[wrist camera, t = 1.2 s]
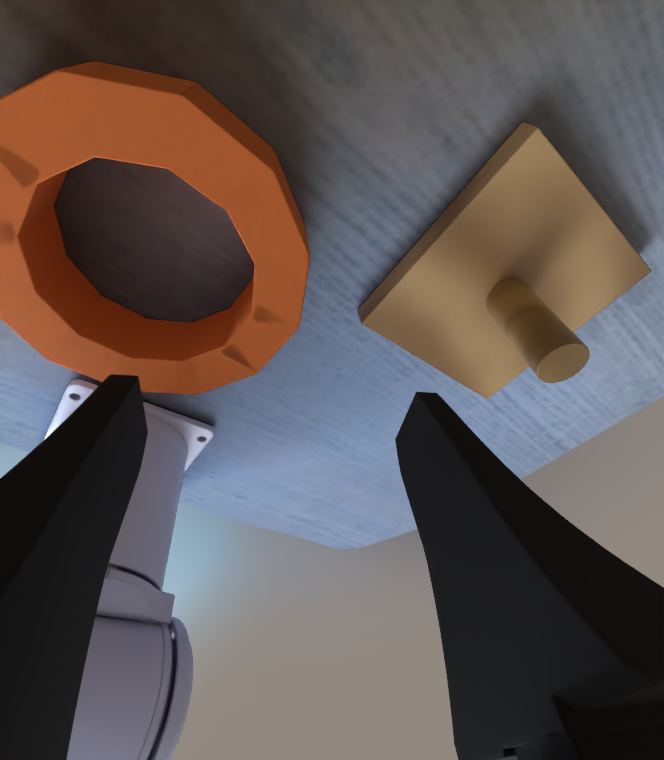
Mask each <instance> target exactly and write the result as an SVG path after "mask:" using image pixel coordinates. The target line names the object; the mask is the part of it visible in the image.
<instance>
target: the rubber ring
mask: <svg viewBox="0 0 664 760" xmlns="http://www.w3.org/2000/svg"><path fill="white" fill-rule="evenodd" d="M94 157H98V158H104V159H111V160H117V161H123V162H129V163H135V164H142V165H148V166H154V167H160V168H166V169H169V170H170V171H172V172H173V173H174V174H176V175H177V176H179V177H180V178H181V179H183V180H184V181H186V182H187V183H188V184H190V185H191V186H193V187H194V188H195V189H197V190H198V191H200V192H201V193H202V194H204V195H205V196H206V197H208V198H209V199H211V200H212V201H213V202H215V203H216V204H218V205H219V206H220V207H222V208H223V209H225V210H226V211H227V212H228V214H229V216H230V218H231V220H232V222H233V224H234V226H235V227H236V229H237V231H238V233H239V235H240V237H241V239H242V241H243V243H244V245H245V246H246V248H247V250H248V252H249V254H250V256H251V258H252V260H253V262H254V263H255V264H254V277H253V279H252V280H251V281H250V283H249V284H248V285H247V287H246V288H245V289H244V290H243V292H242V293H241V294H240V296H239V297H238V298H237V300H236V301H235V302H234V304H233V305H232V306H231V307H230V308H229V309H226V310H223V311H221V312H218V313H216V314H213V315H210V316H208V317H205V318H202V319H200V320H197V321H195V322H192V323H191V322H180V321H168V320H157V319H146V318H145V317H143V316H141V315H139V314H137V313H135V312H133V311H131V310H129V309H127V308H125V307H123V306H121V305H119V304H117V303H115V302H113V301H111V300H109V299H107V298H105V297H103V296H102V295H101V294H100V293H99V292H98V291H97V290H96V288H95V287H94V286H93V285H92V284H91V283H90V282H89V280H88V279H87V278H86V277H85V276H84V275H83V274H82V272H81V271H80V270H79V269H78V268H77V267H76V266H75V264H74V263H73V262H72V261H71V260H70V259H69V258H68V256H67V255H66V251H65V247H64V243H63V239H62V236H61V232H60V228H59V224H58V220H57V216H56V212H55V209H54V203H55V201H56V199H57V196H58V194H59V191H60V189H61V186H62V184H63V181H64V179H65V176H66V174H67V172H68V169H70V168H73V167H75V166H77V165H79V164H81V163H83V162H85V161H88V160H90V159H92V158H94ZM309 263H310V253H309V247H308V242H307V236H306V230H305V225H304V222H303V220H302V217H301V215H300V212H299V210H298V208H297V205H296V203H295V200H294V198H293V195H292V193H291V190H290V188H289V185H288V183H287V180H286V178H285V175H284V173H283V170H282V168H281V165H280V163H279V160H278V158H277V155H276V153H275V151H274V150H273V148H272V147H271V146H270V145H269V144H268V143H266V142H265V141H264V140H263V139H262V138H261V137H259V136H258V135H257V134H256V133H255V132H254V131H253V130H251V129H250V128H249V127H248V126H247V125H246V124H244V123H243V122H242V121H241V120H240V119H239V118H238V117H236V116H235V115H234V114H233V113H232V112H231V111H229V110H228V109H227V108H226V107H225V106H224V105H223V104H221V103H220V102H219V101H218V100H217V99H216V98H214V97H213V96H212V95H211V94H210V93H209V92H208V91H206V90H205V89H204V88H203V87H202V86H201V85H199V84H198V83H196V82H194V81H189V80H184V79H179V78H175V77H170V76H165V75H160V74H155V73H150V72H146V71H141V70H136V69H131V68H126V67H122V66H117V65H112V64H107V63H102V62H97V61H94V62H88V63H83V64H79V65H75V66H71V67H66V68H62V69H58V70H55V71H53V72H51V73H49V74H47V75H45V76H43V77H41V78H39V79H37V80H35V81H33V82H31V83H29V84H27V85H25V86H23V87H21V88H19V89H17V90H15V91H13V92H11V93H10V94H8V95H6V96H4V97H2V98H0V319H2V320H3V321H4V322H5V323H6V324H7V325H8V326H10V327H11V328H12V329H13V330H14V331H15V332H16V333H17V334H19V335H20V336H21V337H22V338H23V339H24V340H25V341H27V342H28V343H29V344H30V345H31V346H32V347H33V348H34V349H36V350H37V351H38V352H39V353H40V354H41V355H42V356H44V357H45V358H46V359H48V360H49V361H52V362H54V363H57V364H59V365H62V366H64V367H66V368H69V369H71V370H74V371H76V372H79V373H81V374H84V375H86V376H89V377H91V378H94V379H96V380H99V381H101V382H103V381H104V380H105V379H106V378H107V377H108V376H109V375H111V374H116V375H134V376H139V382H140V388H141V392H155V393H175V394H200V393H203V392H206V391H209V390H212V389H214V388H217V387H220V386H223V385H226V384H229V383H231V382H234V381H237V380H240V379H243V378H246V377H248V376H251V375H254V374H257V372H259V371H260V370H261V369H262V368H263V366H264V365H265V364H266V363H267V362H268V361H269V360H270V359H271V358H272V357H273V355H274V354H275V353H276V352H277V351H278V350H279V349H280V348H281V347H282V345H283V344H284V343H285V342H286V341H287V340H288V339H289V338H290V337H291V336H292V334H293V333H294V332H295V331H296V330H297V329H298V327H299V325H300V320H301V313H302V307H303V301H304V295H305V288H306V282H307V276H308V269H309Z"/></svg>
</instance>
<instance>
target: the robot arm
mask: <svg viewBox="0 0 664 760" xmlns="http://www.w3.org/2000/svg"><path fill="white" fill-rule="evenodd" d="M74 393H76V394H78V395H76V394H74ZM214 433H215V430H214V428H213V427H212V426H210V425H208V424H205V423H202V422H199V421H197V420H194V419H191V418H188V417H185V416H182V415H180V414H177V413H174V412H171V411H168V410H166V409H163V408H160V407H157V406H154V405H152V404H149V403H146V402H143V400H142V394H141V388H140V382H139V376H134V375H116V374H111V375H109V376H108V377H107V378H106V379H105V380H104V381H103V382H102V383H101V384H100V385H99V386H98V385H95V384H92V383H90V382H87V381H84V380H80V379H74V380H72V381H71V382H70V383H69V385H68V387H67V389H66V391H65V393H64V395H63V398H62V400H61V402H60V404H59V407H58V409H57V411H56V413H55V416H54V418H53V420H52V422H51V425H50V427H49V429H48V431H47V434H46V436H45V438H44V440H43V442H42V443H40V444H39V445H38V446H37V447H36V448H35V449H34V450H33V451H32V452H30V453H29V454H28V455H27V456H26V457H25V458H24V459H22V460H21V461H20V462H19V463H18V464H17V465H16V466H14V467H13V468H12V469H11V470H10V471H9V472H7V473H6V474H5V475H4V476H3V477H2V478H0V760H170V759H171V756H172V755H173V753H174V750H175V748H176V746H177V743H178V741H179V738H180V735H181V732H182V729H183V726H184V723H185V719H186V715H187V711H188V707H189V702H190V696H191V690H192V680H193V656H192V649H191V645H190V642H189V638H188V634H187V631H186V628H185V626H184V624H183V623H182V622H181V621H180V620H179V619H177V618H175V617H171V616H172V610H173V604H174V598H175V596H174V595H173V594H170V593H166V592H163V591H162V586H163V581H164V576H165V571H166V565H167V560H168V555H169V549H170V544H171V538H172V533H173V528H174V523H175V517H176V512H177V507H178V502H179V496H180V491H181V486H182V480H183V475H184V472H185V471H186V470H187V469H188V467H189V466H190V465H191V464H192V463H193V461H194V460H195V459H196V458H197V456H198V455H199V454H200V453H201V451H202V450H203V449H204V448H205V446H206V445H207V444H208V443H209V441H210V440H211V439H212V438H213V436H214ZM201 436H202V437H201ZM395 441H396V447H397V454H398V460H399V466H400V471H401V475H402V479H403V482H404V485H405V489H406V492H407V496H408V499H409V502H410V505H411V509H412V512H413V515H414V518H415V522H416V525H417V528H418V531H419V535H420V538H421V541H422V544H423V548H424V552H425V555H426V559H427V563H428V568H429V573H430V578H431V582H432V588H433V593H434V598H435V604H436V610H437V615H438V621H439V626H440V632H441V638H442V645H443V651H444V659H445V666H446V673H447V680H448V688H449V697H450V706H451V714H452V723H453V734H454V744H455V747H456V752H457V756H458V759H459V760H664V588H663V587H662V586H660V585H659V584H657V583H655V582H654V581H652V580H651V579H649V578H648V577H646V576H645V575H643V574H642V573H640V572H639V571H637V570H636V569H634V568H633V567H631V566H630V565H628V564H627V563H625V562H623V561H622V560H621V559H619V558H618V557H616V556H615V555H613V554H612V553H611V552H609V551H608V550H606V549H605V548H603V547H602V546H600V545H599V544H598V543H597V542H595V541H594V540H593V539H591V538H590V537H589V536H587V535H586V534H584V533H583V532H582V531H581V530H579V529H578V528H577V527H575V526H574V525H573V524H571V523H570V522H569V521H568V520H566V519H565V518H564V517H563V516H561V515H560V514H559V513H558V512H557V511H555V510H554V509H553V508H552V507H551V506H549V505H548V504H547V503H546V502H544V501H543V500H542V499H541V498H540V497H539V496H538V495H536V494H535V493H534V492H533V491H532V490H531V489H529V487H527V486H526V485H525V484H524V483H523V482H522V481H521V480H520V479H519V478H518V477H517V476H516V475H515V474H514V473H513V472H512V471H511V470H510V469H508V468H507V467H506V466H505V465H504V464H503V463H502V462H501V461H500V460H499V459H498V458H497V457H496V456H495V455H494V454H493V453H492V452H491V451H490V449H489V448H488V447H487V446H486V445H485V444H484V443H483V442H482V441H481V440H480V439H479V438H478V437H477V436H476V435H475V434H474V433H473V431H472V430H471V429H470V428H469V427H468V426H467V425H466V424H465V423H464V422H463V421H462V420H461V418H460V417H459V416H458V415H457V414H456V413H455V412H454V411H453V410H452V409H451V408H450V406H449V405H448V404H447V403H446V402H445V401H444V400H443V399H442V398H441V397H440V396H439V395H438V394H437V393H426V392H416V394H415V396H414V399H413V401H412V403H411V405H410V408H409V410H408V412H407V414H406V417H405V419H404V421H403V423H402V426H401V428H400V430H399V433H398V435H397V437H396V439H395Z"/></svg>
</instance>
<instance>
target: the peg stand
mask: <svg viewBox="0 0 664 760" xmlns="http://www.w3.org/2000/svg"><path fill="white" fill-rule="evenodd" d="M650 272H651V269H650V268H649V267H648V265H647V264H646V263H645V262H644V260H643V259H642V258H641V256H640V255H639V254H638V253H637V251H636V250H635V249H634V248H633V246H632V245H631V244H630V243H629V241H628V240H627V239H626V238H625V236H624V235H623V234H622V232H621V231H620V230H619V229H618V227H617V226H616V225H615V224H614V222H613V221H612V220H611V219H610V217H609V216H608V215H607V213H606V212H605V211H604V210H603V208H602V207H601V206H600V205H599V203H598V202H597V201H596V200H595V198H594V197H593V196H592V195H591V193H590V192H589V191H588V189H587V188H586V187H585V186H584V184H583V183H582V182H581V181H580V179H579V178H578V177H577V176H576V174H575V173H574V172H573V171H572V169H571V168H570V167H569V165H568V164H567V163H566V162H565V160H564V159H563V158H562V157H561V155H560V154H559V153H558V152H557V150H556V149H555V148H554V146H553V145H552V144H551V143H550V141H549V140H548V139H547V138H546V136H545V135H544V134H543V133H542V131H541V130H540V129H539V128H538V127H536V126H533V125H531V124H528V123H526V122H522V123H521V124H520V125H519V126H518V128H517V129H516V130H515V131H514V132H513V133H512V134H511V136H510V137H509V138H508V139H507V140H506V141H505V142H504V144H503V145H502V146H501V147H500V148H499V149H498V150H497V152H496V153H495V154H494V155H493V156H492V157H491V158H490V160H489V161H488V162H487V163H486V164H485V165H484V166H483V168H482V169H481V170H480V171H479V172H478V173H477V174H476V176H475V177H474V178H473V179H472V180H471V181H470V182H469V184H468V185H467V186H466V187H465V188H464V189H463V190H462V191H461V193H460V194H459V195H458V196H457V197H456V198H455V199H454V201H453V202H452V203H451V204H450V205H449V206H448V207H447V209H446V210H445V211H444V212H443V213H442V214H441V215H440V217H439V218H438V219H437V220H436V221H435V222H434V223H433V225H432V226H431V227H430V228H429V229H428V230H427V231H426V233H425V234H424V235H423V236H422V237H421V238H420V239H419V241H418V242H417V243H416V244H415V245H414V246H413V247H412V249H411V250H410V251H409V252H408V253H407V254H406V255H405V257H404V258H403V259H402V260H401V261H400V262H399V263H398V265H397V266H396V267H395V268H394V269H393V270H392V271H391V273H390V274H389V275H388V276H387V277H386V278H385V279H384V281H383V282H382V283H381V284H380V285H379V286H378V287H377V289H376V290H375V291H374V292H373V293H372V294H371V295H370V297H369V298H368V299H367V300H366V301H365V302H364V303H363V305H362V306H361V307H360V308H359V309H358V314H359V318H360V321H361V324H363V325H365V326H366V327H368V328H370V329H371V330H373V331H374V332H376V333H378V334H379V335H381V336H383V337H384V338H386V339H388V340H389V341H391V342H393V343H394V344H396V345H398V346H399V347H401V348H403V349H404V350H406V351H408V352H409V353H411V354H413V355H414V356H416V357H418V358H419V359H421V360H423V361H424V362H426V363H428V364H429V365H431V366H433V367H434V368H436V369H438V370H439V371H441V372H443V373H444V374H446V375H448V376H449V377H451V378H453V379H454V380H456V381H458V382H459V383H461V384H463V385H464V386H466V387H468V388H469V389H471V390H473V391H474V392H476V393H478V394H479V395H481V396H483V397H484V398H486V399H488V398H489V397H491V396H492V395H493V394H494V393H496V392H497V391H498V390H500V389H501V388H502V387H503V386H505V385H506V384H507V383H509V382H510V381H511V380H512V379H514V378H515V377H516V376H518V375H519V374H520V373H521V372H523V371H524V370H525V369H527V368H528V367H529V366H530V367H531V369H532V370H533V371H534V373H535V374H536V375H537V377H538V378H539V379H540V380H542V381H544V382H547V383H556V382H560V381H563V380H566V379H568V378H570V377H572V376H574V375H575V374H576V373H578V372H579V371H580V370H581V369H582V368H583V367H584V366H585V364H586V363H587V361H588V359H589V349H588V347H587V346H586V345H585V344H584V343H583V342H582V341H581V340H580V339H579V338H578V337H577V336H576V335H575V334H574V333H573V332H574V331H575V330H577V329H578V328H579V327H580V326H582V325H583V324H584V323H586V322H587V321H588V320H589V319H591V318H592V317H593V316H595V315H596V314H597V313H598V312H600V311H601V310H602V309H604V308H605V307H606V306H607V305H609V304H610V303H611V302H613V301H614V300H615V299H616V298H618V297H619V296H620V295H622V294H623V293H624V292H625V291H627V290H628V289H629V288H631V287H632V286H633V285H634V284H636V283H637V282H638V281H640V280H641V279H642V278H643V277H645V276H646V275H647V274H649V273H650Z"/></svg>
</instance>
